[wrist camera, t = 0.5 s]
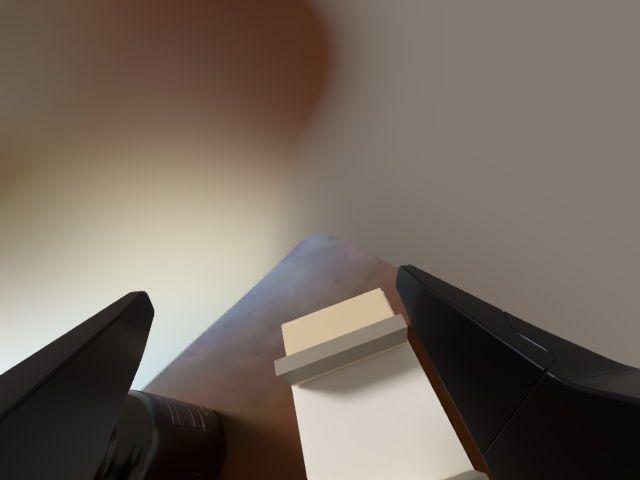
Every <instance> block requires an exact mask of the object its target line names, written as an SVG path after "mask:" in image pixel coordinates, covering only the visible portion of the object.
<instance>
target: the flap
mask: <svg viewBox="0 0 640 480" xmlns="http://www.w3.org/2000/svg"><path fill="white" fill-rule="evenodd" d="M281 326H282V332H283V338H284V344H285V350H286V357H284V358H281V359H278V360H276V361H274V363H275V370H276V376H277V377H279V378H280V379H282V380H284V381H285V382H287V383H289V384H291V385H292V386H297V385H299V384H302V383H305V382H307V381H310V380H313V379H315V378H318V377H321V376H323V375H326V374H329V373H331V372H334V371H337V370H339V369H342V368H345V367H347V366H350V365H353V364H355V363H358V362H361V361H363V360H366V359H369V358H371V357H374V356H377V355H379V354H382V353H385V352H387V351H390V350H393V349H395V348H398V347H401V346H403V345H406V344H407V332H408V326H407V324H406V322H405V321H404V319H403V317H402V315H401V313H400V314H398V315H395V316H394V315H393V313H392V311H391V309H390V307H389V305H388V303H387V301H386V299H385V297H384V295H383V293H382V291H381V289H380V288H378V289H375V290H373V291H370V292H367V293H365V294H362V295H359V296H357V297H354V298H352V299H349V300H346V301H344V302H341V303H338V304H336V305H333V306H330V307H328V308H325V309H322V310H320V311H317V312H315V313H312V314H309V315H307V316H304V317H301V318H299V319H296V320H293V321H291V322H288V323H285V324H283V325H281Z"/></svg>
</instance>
